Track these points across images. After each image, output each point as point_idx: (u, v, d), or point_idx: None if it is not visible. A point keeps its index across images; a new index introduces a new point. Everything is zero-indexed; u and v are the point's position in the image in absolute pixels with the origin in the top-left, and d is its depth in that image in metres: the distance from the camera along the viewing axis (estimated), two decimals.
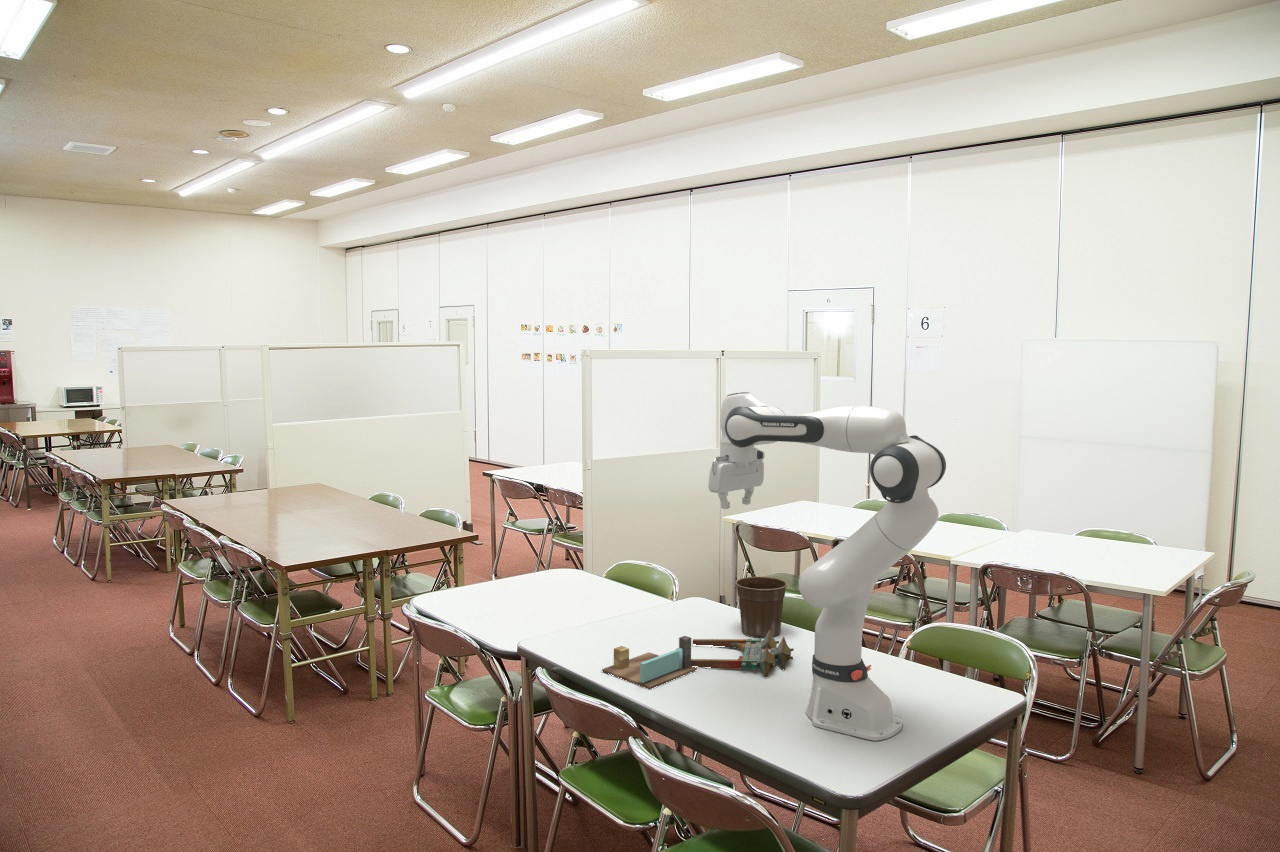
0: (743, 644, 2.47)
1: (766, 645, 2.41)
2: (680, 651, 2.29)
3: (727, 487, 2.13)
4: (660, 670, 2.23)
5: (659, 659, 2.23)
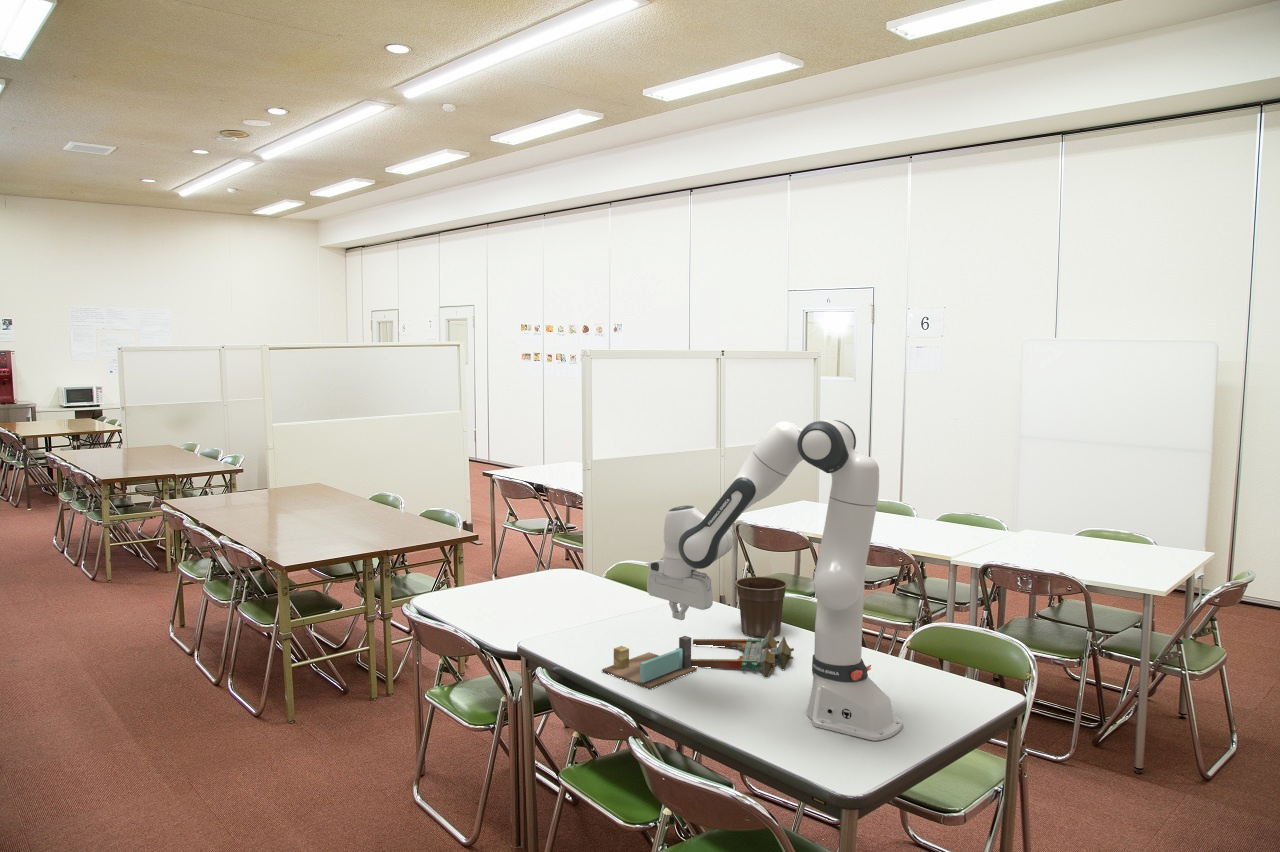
0: (743, 644, 2.47)
1: (766, 645, 2.41)
2: (680, 651, 2.29)
3: None
4: (660, 670, 2.23)
5: (659, 659, 2.23)
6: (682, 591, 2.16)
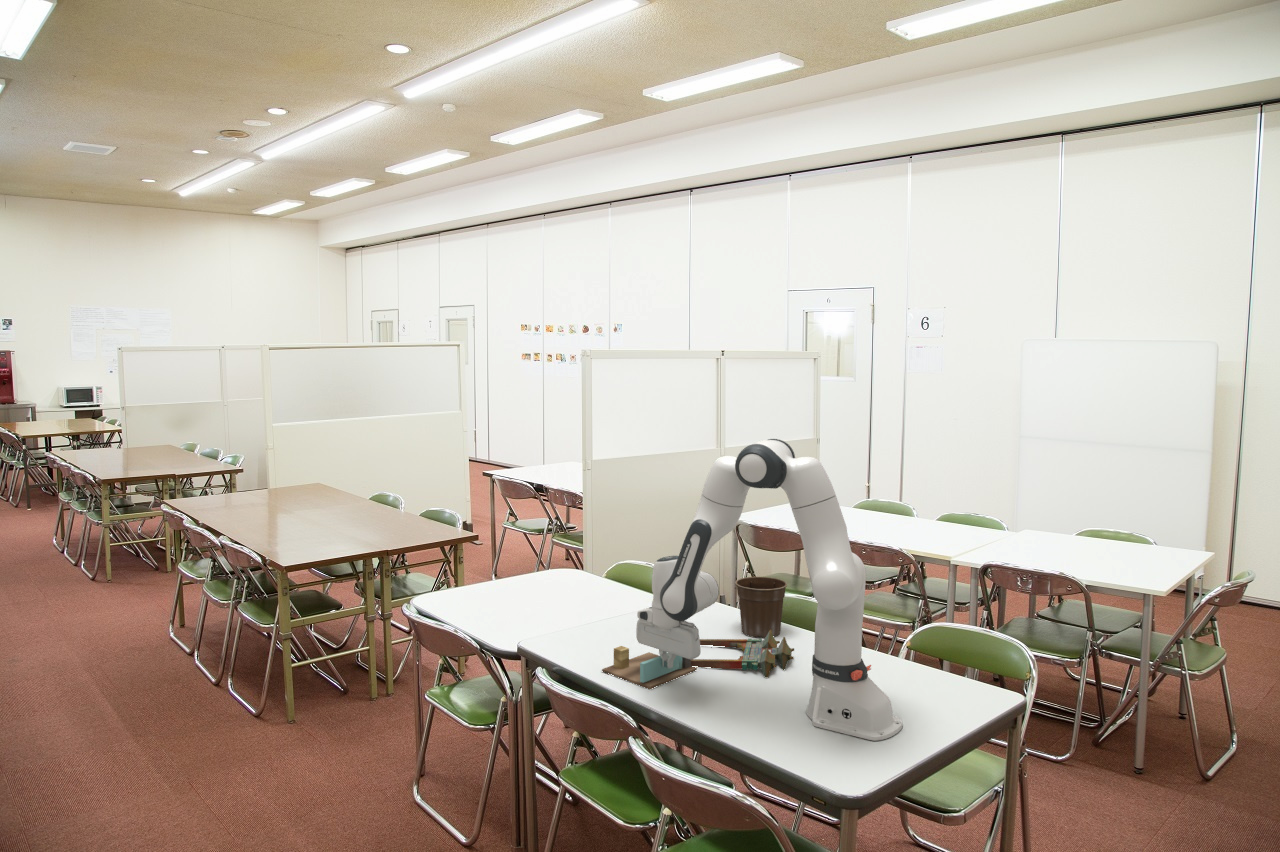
0: (744, 644, 2.47)
1: (767, 645, 2.41)
2: None
3: None
4: (660, 670, 2.23)
5: (659, 659, 2.23)
6: (671, 640, 2.19)
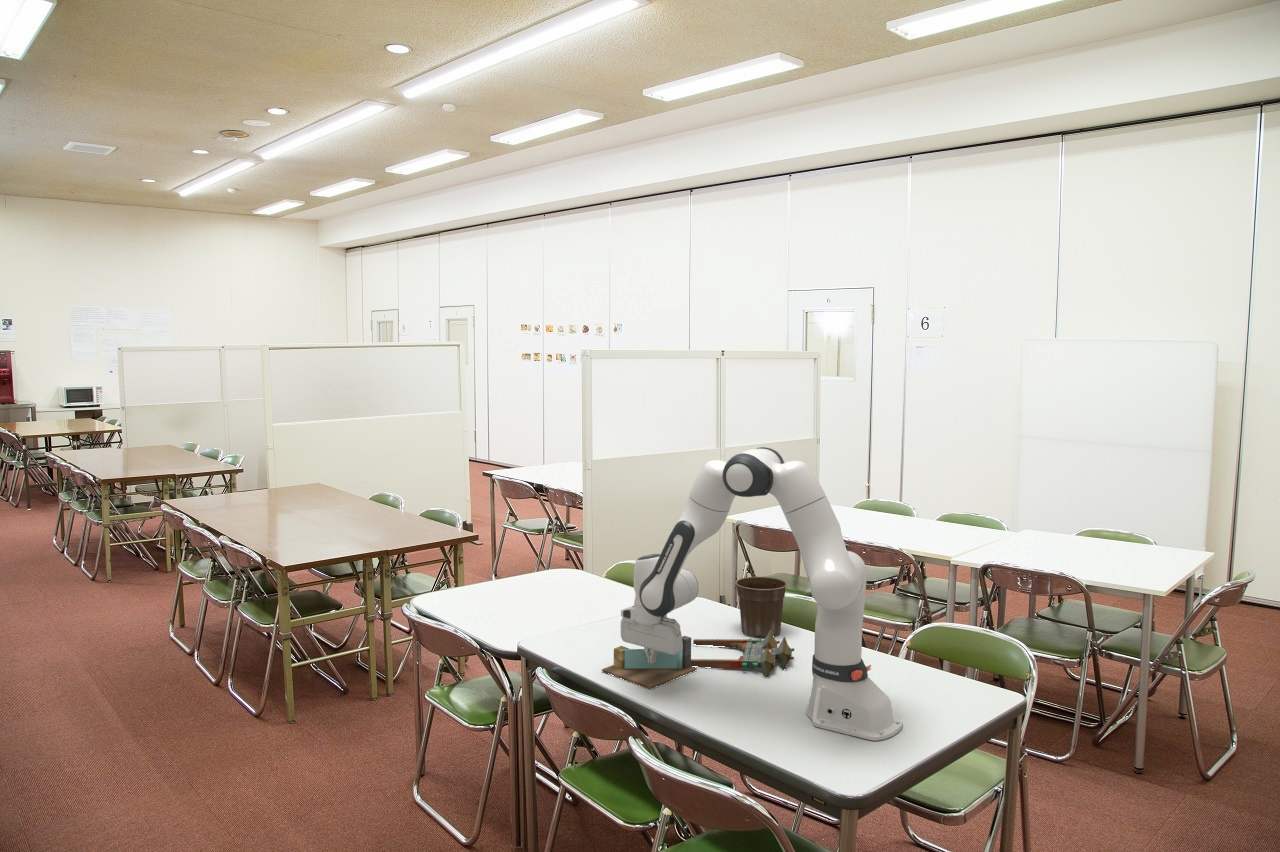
0: (744, 644, 2.47)
1: (767, 645, 2.41)
2: None
3: None
4: None
5: None
6: (653, 637, 2.24)
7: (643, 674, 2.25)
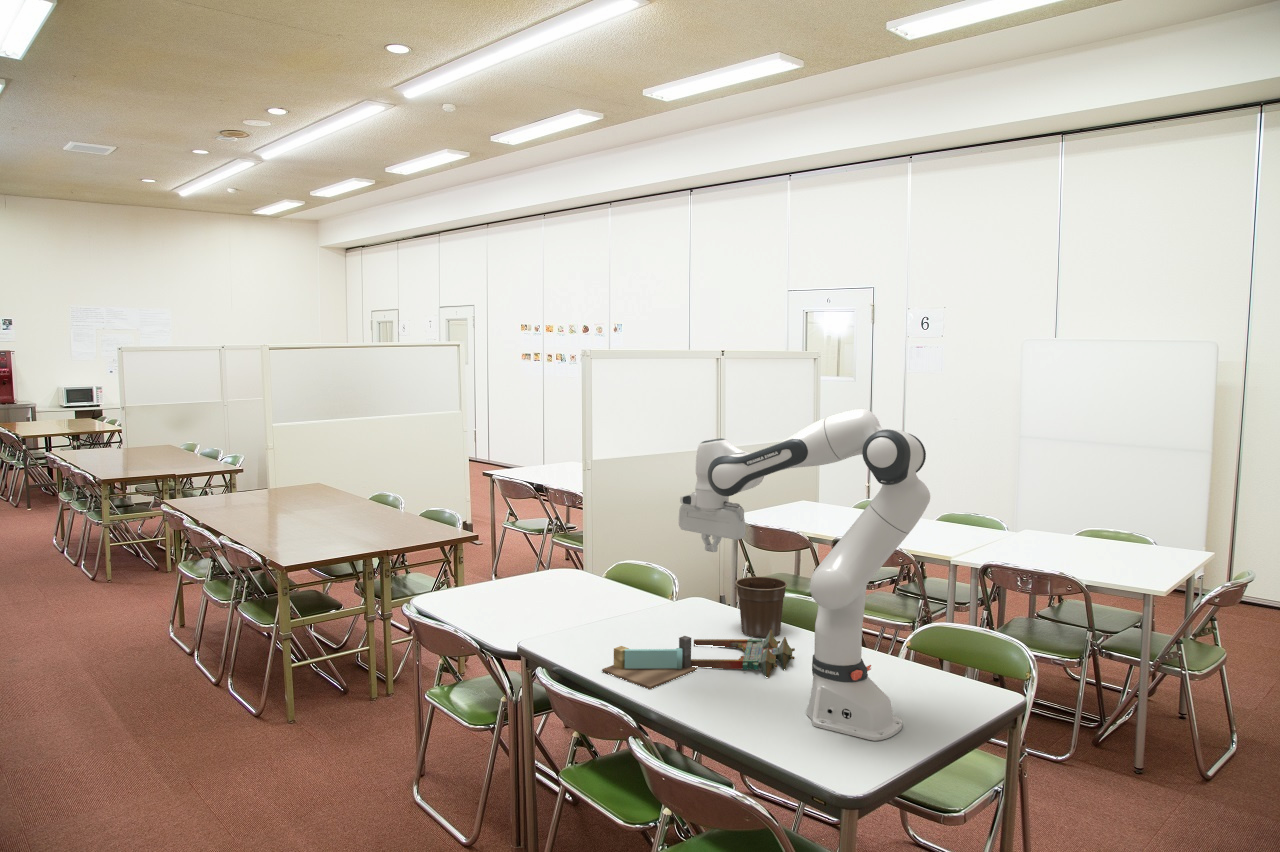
0: (744, 644, 2.47)
1: (767, 645, 2.41)
2: (678, 651, 2.29)
3: None
4: (649, 662, 2.29)
5: (647, 651, 2.29)
6: (715, 522, 2.17)
7: (643, 674, 2.25)
